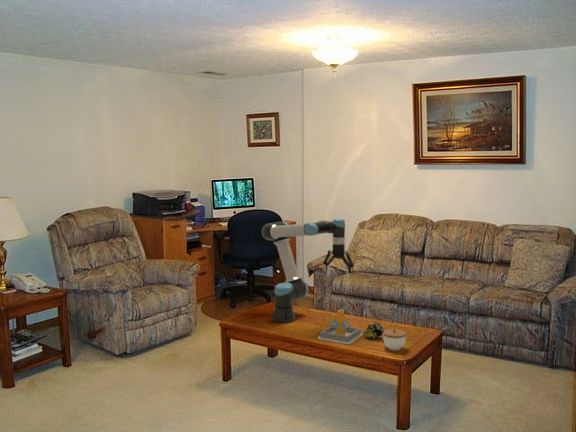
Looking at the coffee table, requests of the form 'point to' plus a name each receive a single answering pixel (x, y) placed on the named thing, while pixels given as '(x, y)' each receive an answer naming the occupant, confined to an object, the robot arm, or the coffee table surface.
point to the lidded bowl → (394, 338)
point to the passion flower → (374, 330)
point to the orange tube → (340, 323)
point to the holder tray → (348, 338)
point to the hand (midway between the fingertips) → (338, 277)
